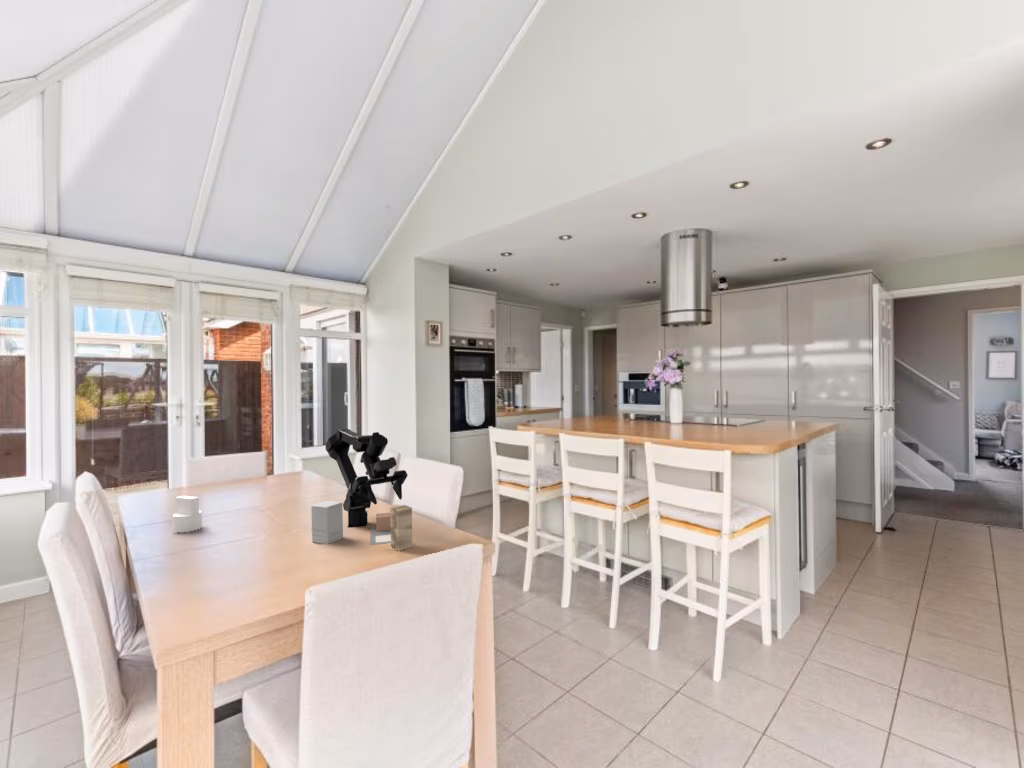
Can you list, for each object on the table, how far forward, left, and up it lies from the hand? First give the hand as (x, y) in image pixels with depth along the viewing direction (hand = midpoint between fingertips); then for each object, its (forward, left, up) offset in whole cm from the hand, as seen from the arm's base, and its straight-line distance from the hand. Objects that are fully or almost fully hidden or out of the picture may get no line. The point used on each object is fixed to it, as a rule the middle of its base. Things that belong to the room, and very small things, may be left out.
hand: (388, 501), depth 162 cm
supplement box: (-20, +8, -14) cm, 26 cm away
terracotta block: (-2, +14, -13) cm, 19 cm away
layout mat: (-1, +7, -14) cm, 15 cm away
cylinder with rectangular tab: (-72, +38, -14) cm, 83 cm away
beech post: (+4, -7, -14) cm, 16 cm away
